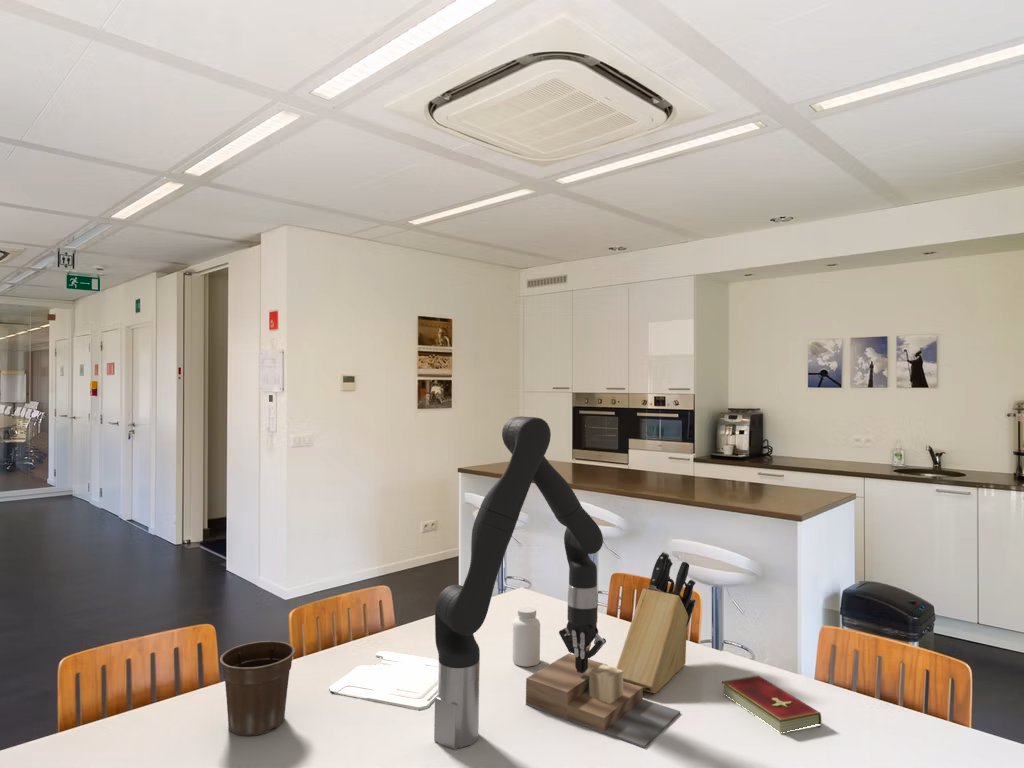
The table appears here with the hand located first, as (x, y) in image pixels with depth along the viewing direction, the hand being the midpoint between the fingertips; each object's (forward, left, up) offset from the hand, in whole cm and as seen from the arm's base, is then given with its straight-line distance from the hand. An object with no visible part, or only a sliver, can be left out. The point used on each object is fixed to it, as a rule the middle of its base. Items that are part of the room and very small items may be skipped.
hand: (581, 671), depth 164 cm
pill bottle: (+11, +25, -8) cm, 28 cm away
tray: (-19, +45, -8) cm, 50 cm away
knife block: (+30, -7, -8) cm, 32 cm away
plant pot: (-56, +54, -8) cm, 78 cm away
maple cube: (0, -4, -1) cm, 4 cm away
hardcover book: (+26, -39, -8) cm, 47 cm away
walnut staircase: (0, -6, -8) cm, 10 cm away
